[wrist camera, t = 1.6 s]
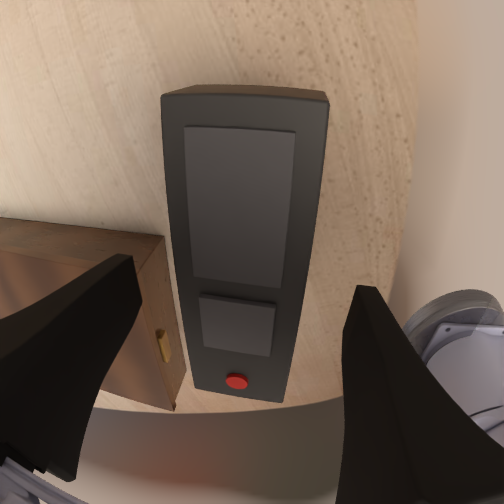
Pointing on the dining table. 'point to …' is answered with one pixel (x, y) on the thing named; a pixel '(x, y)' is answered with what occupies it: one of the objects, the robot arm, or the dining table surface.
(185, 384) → the dining table surface
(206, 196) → the remote
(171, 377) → the box
